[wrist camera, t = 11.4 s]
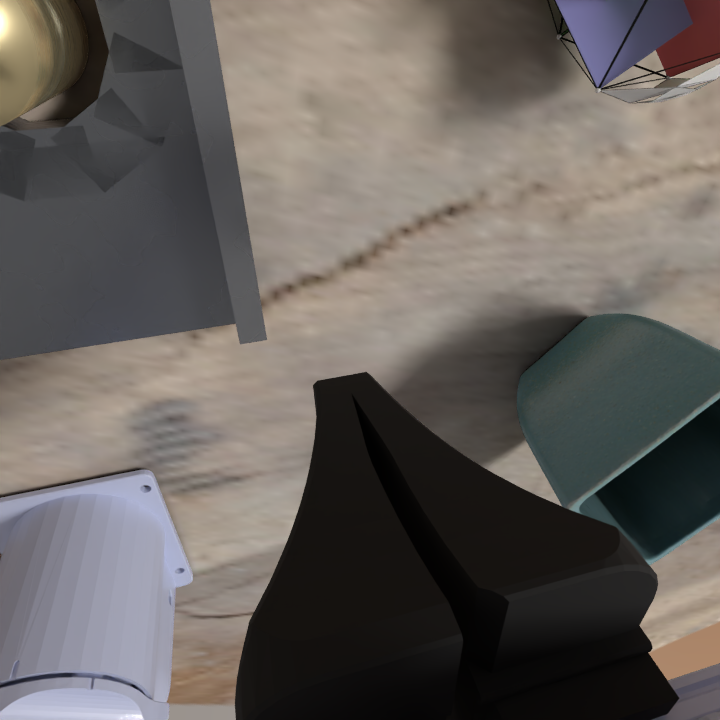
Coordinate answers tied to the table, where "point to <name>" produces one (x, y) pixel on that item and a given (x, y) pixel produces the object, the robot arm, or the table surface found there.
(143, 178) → the jig
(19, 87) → the brass cylinder plug
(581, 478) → the flower pot
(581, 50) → the geometric puzzle
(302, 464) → the table surface
